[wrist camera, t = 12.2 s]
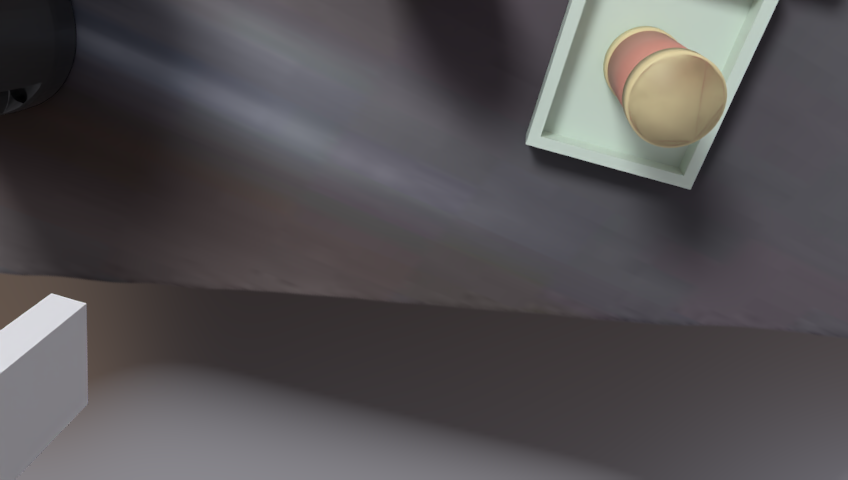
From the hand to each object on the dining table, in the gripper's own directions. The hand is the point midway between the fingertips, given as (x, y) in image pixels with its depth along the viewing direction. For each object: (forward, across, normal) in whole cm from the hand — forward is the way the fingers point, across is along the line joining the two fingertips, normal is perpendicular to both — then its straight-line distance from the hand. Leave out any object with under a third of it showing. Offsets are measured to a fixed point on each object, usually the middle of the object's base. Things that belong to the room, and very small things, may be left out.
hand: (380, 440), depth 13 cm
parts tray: (+35, +10, +4) cm, 36 cm away
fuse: (+34, +9, +4) cm, 36 cm away
